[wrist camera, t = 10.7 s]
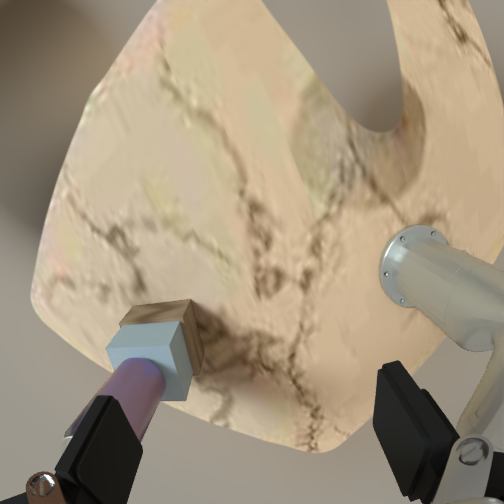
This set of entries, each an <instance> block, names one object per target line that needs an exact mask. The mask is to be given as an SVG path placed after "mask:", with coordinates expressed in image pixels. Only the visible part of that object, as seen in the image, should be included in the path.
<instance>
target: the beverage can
mask: <svg viewBox="0 0 504 504" xmlns="http://www.w3.org/2000/svg"><path fill="white" fill-rule="evenodd" d="M165 388H166V383H165V379H164V376H163V374H162V372H161V371H160V369H159V368H158V367H157V366H156V365H155V364H153V363H152V362H150V361H148V360H146V359H143V358H128V359H126V360H124V361H123V362H122V363H121V364H120V365H119V366H118V367H117V369H116V370H115V371H114V372H113V373H112V375H111V376H110V377H109V378H108V380H107V381H106V382H105V383H104V384H103V386H102V387H101V388H100V390H99V391H98V392H97V393H96V394H95V396H94V397H93V398H92V399H91V400H90V402H89V403H88V404H87V405H86V407H85V408H84V409H83V410H82V412H81V413H80V414H79V416H78V417H77V418H76V419H75V421H74V422H73V423H72V424H71V426H70V427H69V428H68V429H67V431H66V432H65V435H64V438H63V440H62V442H61V450H62V453H64V451H65V449H66V447H67V446H68V444H69V442H70V440H71V439H72V437H73V435H74V433H75V432H76V430H77V428H78V426H79V425H80V423H81V421H82V420H83V418H84V416H85V414H86V413H87V411H88V409H89V408H90V406H91V404H92V403H93V401H94V399H95V398H96V396H97V395H111V396H113V397H114V398H115V399H117V400H118V401H119V403H120V405H121V407H122V409H123V411H124V413H125V415H126V417H127V419H128V421H129V423H130V425H131V427H132V429H133V430H134V432H135V434H136V436H137V438H138V440H139V441H140V443H141V441H142V439H143V437H144V434H145V432H146V430H147V428H148V426H149V424H150V422H151V419H152V417H153V415H154V413H155V411H156V409H157V407H158V404H159V402H160V400H161V398H162V396H163V394H164V392H165Z"/></svg>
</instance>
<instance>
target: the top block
mask: <svg viewBox="0 0 504 504" xmlns="http://www.w3.org/2000/svg"><path fill="white" fill-rule="evenodd" d="M106 350H107V353H108V356H109V358H110V361H111V364H112V366H113V369H114V371H115V370H116V369H117V367H118V366H119V365H120V364H121V363H122V362H123V361H124V360H126V359H128V358H143V359H146V360H148V361H150V362H152V363H153V364H155V365H156V366H157V367H158V368H159V369H160V371H161V372H162V374H163V376H164V379H165V383H166V388H165V392H164V394H163V396H162V398H161V400H160V401H186V399H187V395H188V391H189V387H190V383H191V380H192V376H193V370H192V366H191V363H190V359H189V355H188V352H187V348H186V344H185V340H184V336H183V332H182V328H181V324H180V321H174V322H162V323H149V324H135V325H123V326H122V327H121V328H120V330H119V331H118V332H117V334H116V335H115V336H114V338H113V339H112V340H111V342H110V343H109V344H108V346H107V347H106Z"/></svg>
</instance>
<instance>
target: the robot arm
mask: <svg viewBox="0 0 504 504" xmlns="http://www.w3.org/2000/svg"><path fill="white" fill-rule="evenodd" d="M400 237H401V239H400ZM384 273H385V274H384ZM379 276H380V283H381V285H382V288H383V290H384V292H385V294H386V295H387V296H388V297H389V298H390V299H391V300H392V301H393V302H395V303H396V304H398V305H400V306H404V307H416V308H417V309H418V310H420V311H421V312H422V313H423V314H424V315H425V316H426V317H427V318H429V319H430V320H431V321H432V322H433V323H434V324H435V325H436V326H438V327H439V328H440V329H441V330H442V331H443V332H444V333H445V334H446V335H447V336H449V337H450V338H451V339H452V340H453V341H454V342H455V343H456V344H457V345H459V346H460V347H461V348H463V349H465V350H468V351H472V352H483V351H488V350H492V349H494V350H493V354H492V357H491V359H490V361H489V363H488V366H487V368H486V371H485V373H484V375H483V377H482V379H481V381H480V383H479V384H478V386H477V388H476V390H475V392H474V394H473V395H472V397H471V399H470V401H469V402H468V404H467V406H466V408H465V409H464V411H463V413H462V415H461V416H460V418H459V421H458V423H457V426H456V430H455V429H454V427H453V426H452V424H451V423H450V421H449V420H448V419H447V417H446V416H445V414H444V413H443V412H442V410H441V409H440V408H439V406H438V405H437V403H436V402H435V401H434V399H433V398H432V396H431V395H430V394H429V392H428V391H427V390H425V389H421V390H420V388H419V387H418V385H417V384H416V383H415V381H414V380H413V378H412V377H411V376H410V374H409V373H408V372H407V370H406V369H405V368H404V366H403V365H402V363H401V362H400V361H398V360H397V361H393V362H390V363H386V364H383V366H382V369H379V370H378V374H377V386H376V396H375V406H374V415H373V427H374V431H375V433H376V435H377V437H378V440H379V442H380V444H381V446H382V449H383V451H384V453H385V455H386V457H387V460H388V462H389V465H390V467H391V469H392V472H393V474H394V476H395V479H396V481H397V483H398V486H399V488H400V491H401V493H402V495H403V496H404V497H405V496H408V497H409V500H410V501H411V502H412V501H414V500H417V499H420V500H421V502H422V503H423V504H504V270H502V269H500V268H498V267H496V266H494V265H492V264H489V263H487V262H485V261H483V260H481V259H478V258H476V257H474V256H472V255H469V254H468V253H467V251H466V250H462V251H460V250H458V249H456V248H453V247H451V246H449V245H448V244H447V242H446V239H445V238H444V237H443V235H442V234H441V233H440V232H439V231H438V230H436V229H434V228H432V227H430V226H427V225H420V224H418V225H411V226H409V227H406V228H404V229H403V230H401V231H399V232H398V233H397V234H396V235H395V236H394V237H393V238H392V239H391V240H390V242H389V243H388V244H387V246H386V248H385V250H384V252H383V255H382V258H381V262H380V267H379ZM142 454H143V449H142V445H141V443H140V441H139V440H138V438H137V436H136V434H135V432H134V430H133V429H132V427H131V425H130V423H129V421H128V419H127V417H126V415H125V413H124V411H123V409H122V407H121V405H120V403H119V401H118V400H117V399H115V398H114V397H113V396H111V395H97V396H96V398H95V399H94V401H93V403H92V404H91V406H90V408H89V409H88V411H87V413H86V414H85V416H84V418H83V420H82V421H81V423H80V425H79V426H78V428H77V430H76V432H75V433H74V435H73V437H72V439H71V440H70V442H69V444H68V446H67V447H66V449H65V451H64V453H63V455H62V456H61V458H60V460H59V462H58V463H57V465H56V467H55V471H56V473H55V475H53V474H52V473H50V472H44V471H43V472H38V473H36V474H34V475H33V476H31V477H30V478H29V480H28V481H27V484H26V492H25V493H22V494H19V495H17V496H14V497H11V498H9V499H6V500H3V501H0V504H127V501H128V498H129V494H130V491H131V488H132V485H133V482H134V479H135V476H136V473H137V469H138V466H139V463H140V460H141V457H142Z"/></svg>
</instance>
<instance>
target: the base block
mask: <svg viewBox="0 0 504 504" xmlns="http://www.w3.org/2000/svg"><path fill="white" fill-rule="evenodd" d="M174 321H180V324H181V328H182V332H183V336H184V340H185V344H186V348H187V352H188V355H189V359H190V363H191V366H192V370H193V376H195V375H199V373H200V369H201V364H202V360H203V356H204V350H203V347H202V343H201V339H200V335H199V331H198V327H197V323H196V319H195V315H194V311H193V307H192V303H191V299H186V300H179V301H171V302H163V303H155V304H146V305H138V306H133V307H132V308H131V309H130V310H129V312H128V313H127V314H126V315H125V317H124V318H123V319H122V320H121V322H120V323H119V325H120V328H121V327H122V326H123V325H135V324H149V323H162V322H174Z"/></svg>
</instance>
